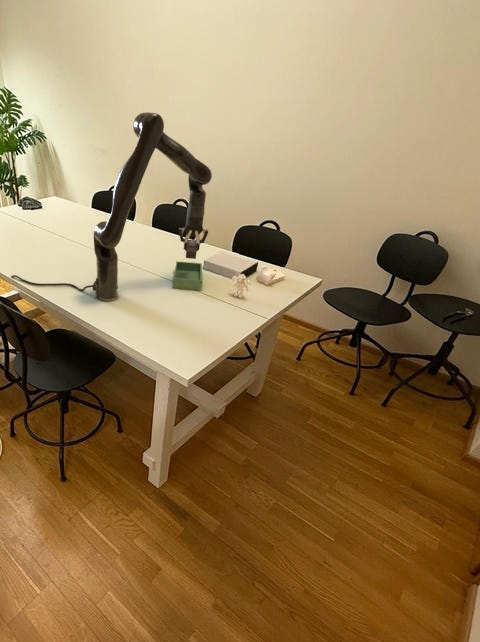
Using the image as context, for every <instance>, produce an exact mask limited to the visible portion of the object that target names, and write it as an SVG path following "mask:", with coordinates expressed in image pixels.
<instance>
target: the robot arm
mask: <svg viewBox="0 0 480 642" xmlns="http://www.w3.org/2000/svg"><path fill="white" fill-rule="evenodd" d="M132 128H133V129H132V130H133V132H134V134H135V136H136V138H138V139H137V142H136V145H135V148H134V150H133V151H132V154H131V155H130V156H129V158H128V159H127V160H126V162H124V164H123V165H122V167H121V169H120V170H119V172H118V175H117V178H116V181H115V182H114V186H113V190H112V203H111V205H112V206H111V213H110V214H109V215H110V216H109V217H108V220H107V221H105V220H103V221H100V222H98V223H97V224H96V226H95V227H94V230H93V248H94V249H93V250H94V254H95V259H96V260H95V261H96V278H95V280H94V282H93V284H91V285H86V286H84V287H82V288H79V287H77V285H75V284H72V283H68V282H66V283H65V282H64V283H63V282H62V283H59V282H58V283H38V282H32V281H29V280H26V279H24V278H21V276H19V275H16V274H13V275H12V276H11V278H17V279H18V280H20V281H22V282H25V283H27V284H30V285H35V286H71V287H73V288H74V289H76V290H78V291H80V292H84V291H85V290H86V289H88V288H92V291H93V292H95V294H96V295H95V296H96V297H95V298H96V299H99V300H101V301H104V302H110V301H114V300H116V299H117V298H118V296H119V295H118V293H119V291H118V289H119V286H118V285H119V283H118V280H119V279H118V277H119V274H118V273H119V272H118V271H119V270H118V269H119V255H118V253H117V250H116V247H117V246H118V245H119V243H120V242H121V239H122V237H123V233H124V230H125V227H126V224H127V223H126V222H127V219H128V216H129V213H130V211H131V209H132V206H133V203H134V202H135V199H136V196H137V194H138V192H139V190H140V186H141V183H142V181H143V178H144V176H145V173H146V171H147V168H148V166H149V163H150V161H151V158H152V156H153V154H154V152H155V150H157V151H159V152H160V153H161V154H162V155H164V156H165V157H166V158H167V159H168V160H169V161H170V162H172V163H173V164H174V165H175V166H176V167H177V168H178V169H179V170H180V171H182V172H183V173H185V174H187V175H188V178H187V179H188V188H189V189H188V190H189V198H188V204H187V205H188V206H187V211H186V220H185V226H184V227H179V228H178V234H179V235H178V236H179V239H180V243H183V250H184V251H185V252H186V249H187V241H188V240H190V238H192V237H193V238H196V239H195V240H197V252H198V251H200V247H201V244H204V243H205V242H206V239H207V236H208V235H209V229H206V228H204V227H203V226H204V225H203V224H204V218H205V217H204V216H205V208H206V207H205V206H206V205H205V204H206V198H207V197H206V196H207V192H206V190H205V189H204V188H203V186H205V185H207V184H209V183H210V182H211V180H212V178H213V177H212V176H213V173H212V170H211V169H210V168H209V166H208V165H206V164H205V163H204V162H203V161H201V160H200V159H198V158H196V157H195V156H194V154H193V153H191V152H190V150H188V149H187V148H186V147H185V146H183V145H182V144H181V143H179V142H177V141H176V140H174V138H172V137H170V136H169V135H168V134H167V133H165V132H164V129H165V121H164V118H163V117H162V116H161V115H160V114H159V113H156V112H148V111H144V112H141V113H139V114H137V115H136V117H135V118H134V120H133V123H132ZM184 231H185V233H186V235H185V238H184ZM201 234H203V235H202V238H201V239H200V235H201Z"/></svg>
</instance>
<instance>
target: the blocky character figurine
mask: <svg viewBox="0 0 480 642" xmlns="http://www.w3.org/2000/svg"><path fill="white" fill-rule="evenodd" d="M237 274H238V275H240V274H241V273H239V272H237ZM231 281H232V282H233V283H232V285H231V287H232V288H234V287H235V292H234V294H233V297H236V298H237V297H238V298H239V299H243V297H244V289H245V291H246V292H247V293H248V292H249V290H250V289H249V288H248V286H249V285H252V280H251V279H247V278H246V277H245V275H244V274H241V275H240V276H238V278H237V276H236V275H235V276H233V278H231Z"/></svg>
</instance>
